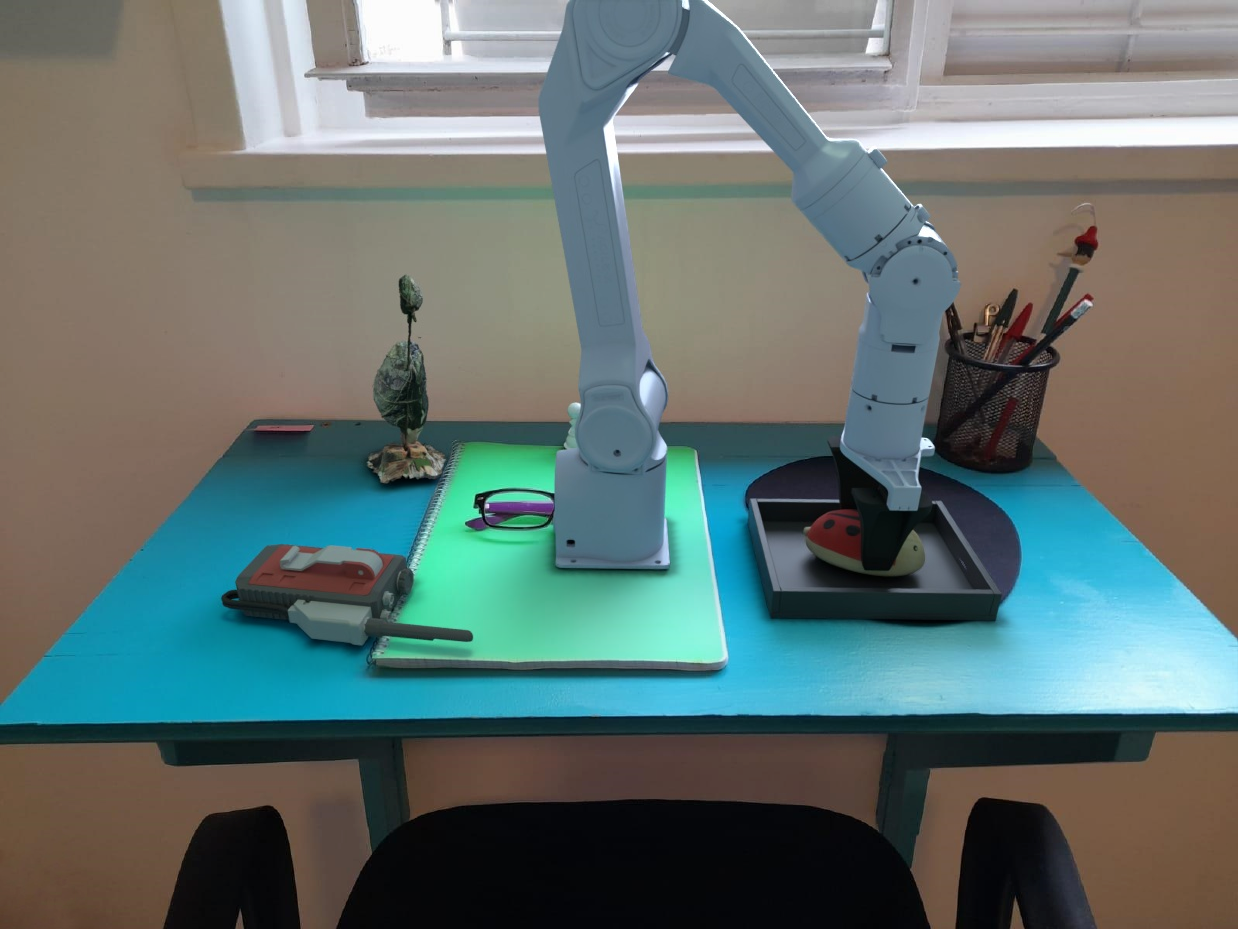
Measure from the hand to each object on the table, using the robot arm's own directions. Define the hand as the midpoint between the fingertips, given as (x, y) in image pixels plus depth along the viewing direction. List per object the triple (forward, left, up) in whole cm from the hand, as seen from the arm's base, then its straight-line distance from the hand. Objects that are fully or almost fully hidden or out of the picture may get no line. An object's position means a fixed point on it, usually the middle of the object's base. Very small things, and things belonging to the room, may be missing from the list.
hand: (864, 543), depth 72 cm
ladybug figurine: (0, 0, -2) cm, 2 cm away
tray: (0, 0, -2) cm, 2 cm away
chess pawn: (-31, +9, -3) cm, 32 cm away
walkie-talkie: (-40, -7, -3) cm, 41 cm away
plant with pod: (-42, +18, -3) cm, 46 cm away
